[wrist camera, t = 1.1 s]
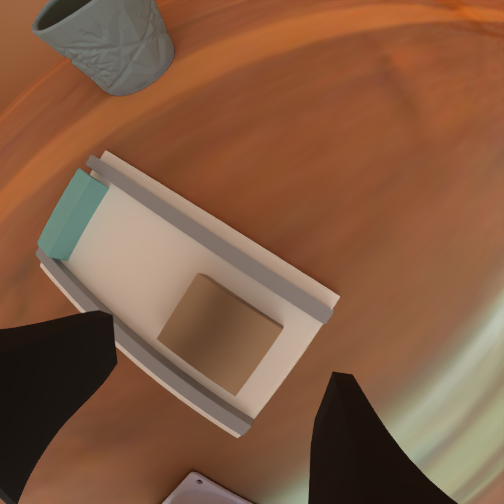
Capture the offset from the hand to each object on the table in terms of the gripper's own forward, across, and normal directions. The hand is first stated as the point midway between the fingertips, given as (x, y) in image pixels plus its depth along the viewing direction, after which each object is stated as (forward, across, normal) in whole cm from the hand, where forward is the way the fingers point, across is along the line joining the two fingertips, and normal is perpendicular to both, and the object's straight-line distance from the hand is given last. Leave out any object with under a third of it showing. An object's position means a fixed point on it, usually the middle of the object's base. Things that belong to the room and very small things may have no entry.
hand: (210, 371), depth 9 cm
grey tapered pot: (+18, +17, -16) cm, 30 cm away
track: (+11, +8, +2) cm, 13 cm away
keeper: (+10, +2, +4) cm, 11 cm away
